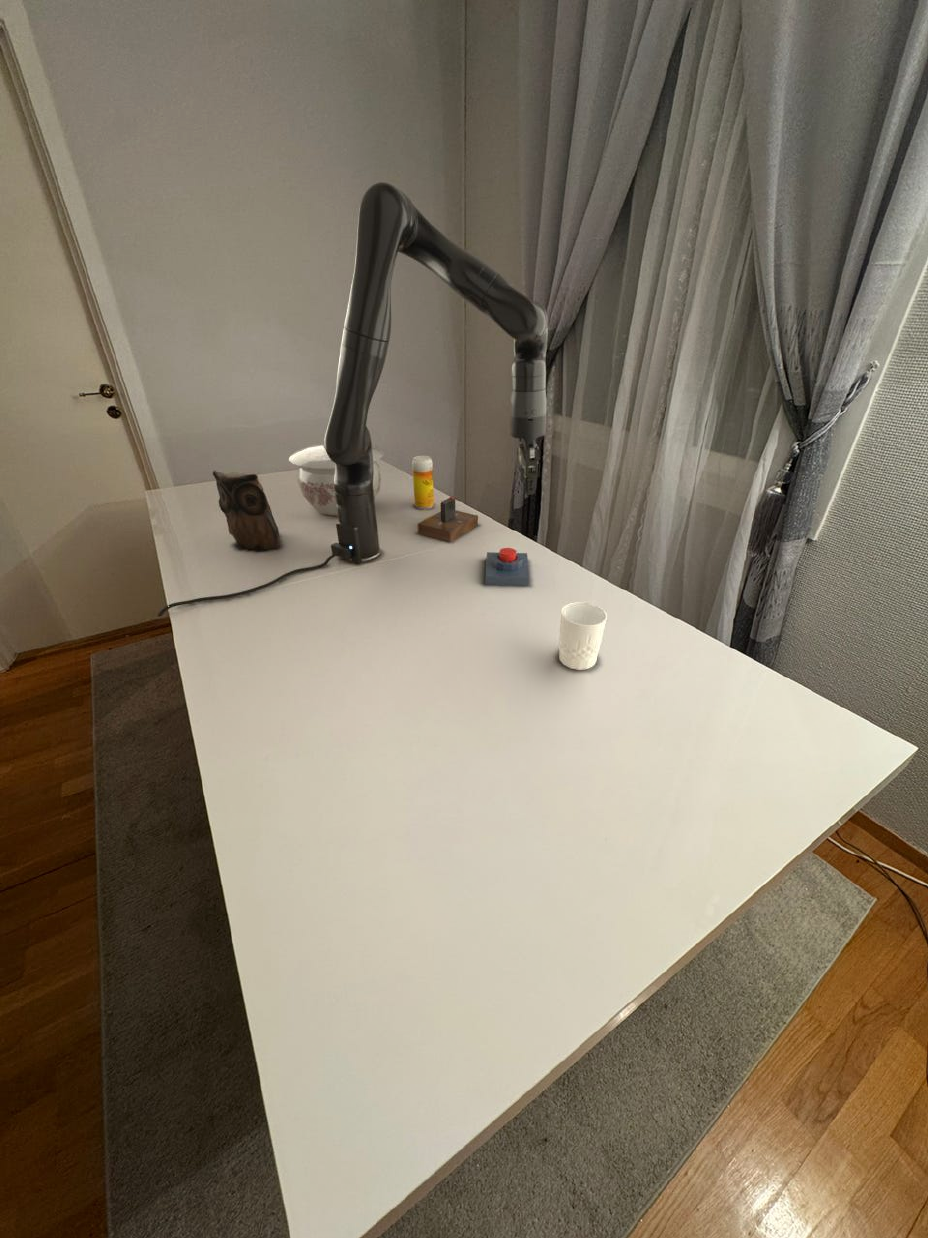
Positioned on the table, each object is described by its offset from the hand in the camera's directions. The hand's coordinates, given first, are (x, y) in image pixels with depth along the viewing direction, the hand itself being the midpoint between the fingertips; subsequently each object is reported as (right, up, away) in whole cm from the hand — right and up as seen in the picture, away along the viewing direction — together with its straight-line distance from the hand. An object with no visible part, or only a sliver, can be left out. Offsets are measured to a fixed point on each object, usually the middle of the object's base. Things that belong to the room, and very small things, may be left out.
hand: (527, 487), depth 117 cm
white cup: (+6, -37, -21) cm, 43 cm away
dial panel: (-19, -4, +30) cm, 36 cm away
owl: (-69, -9, +23) cm, 73 cm away
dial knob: (-19, -2, +29) cm, 34 cm away
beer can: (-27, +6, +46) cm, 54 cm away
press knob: (-4, -15, +6) cm, 17 cm away
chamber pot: (-52, +5, +45) cm, 69 cm away
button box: (-4, -18, +8) cm, 20 cm away
